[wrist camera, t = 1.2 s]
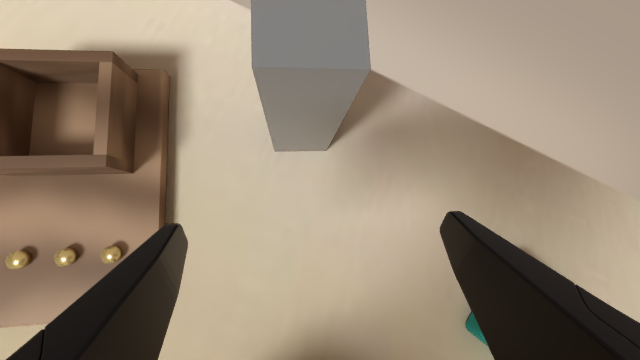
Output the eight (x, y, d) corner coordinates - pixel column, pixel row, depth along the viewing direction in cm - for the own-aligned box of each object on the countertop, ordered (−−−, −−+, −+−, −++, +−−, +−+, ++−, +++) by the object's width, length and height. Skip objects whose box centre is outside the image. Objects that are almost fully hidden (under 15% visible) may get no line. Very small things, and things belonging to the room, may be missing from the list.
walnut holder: (162, 309, 20) (130, 333, 16) (-17, 324, 18) (-101, 354, 14) (169, 76, 22) (143, 46, 18) (11, 73, 21) (-54, 40, 17)
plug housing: (326, 150, 23) (370, 68, 10) (274, 151, 22) (251, 66, 9) (323, 102, 23) (362, -34, 11) (273, 101, 23) (250, -42, 10)
